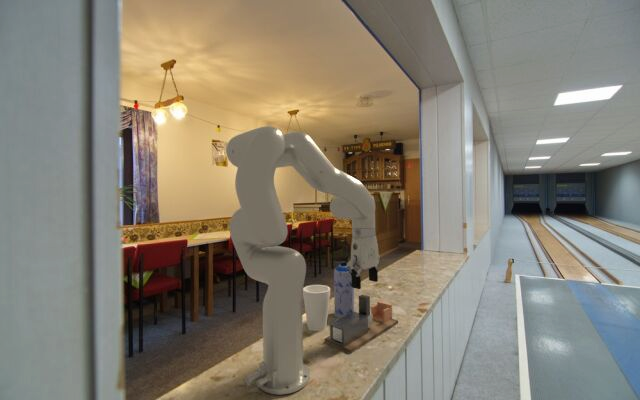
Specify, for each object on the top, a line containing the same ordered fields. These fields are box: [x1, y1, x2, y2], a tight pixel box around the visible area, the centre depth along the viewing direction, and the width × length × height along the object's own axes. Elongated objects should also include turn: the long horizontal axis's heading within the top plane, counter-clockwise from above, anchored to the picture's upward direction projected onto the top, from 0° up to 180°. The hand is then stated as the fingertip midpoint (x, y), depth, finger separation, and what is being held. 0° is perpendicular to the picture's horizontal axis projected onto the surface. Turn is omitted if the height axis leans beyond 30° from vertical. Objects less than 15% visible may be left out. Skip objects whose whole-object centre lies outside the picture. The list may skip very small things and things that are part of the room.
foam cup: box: [302, 284, 331, 332], centre depth 98 cm, size 10×9×13 cm
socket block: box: [370, 300, 393, 323], centre depth 102 cm, size 5×5×5 cm
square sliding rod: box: [333, 294, 373, 342], centre depth 90 cm, size 16×4×10 cm, turn 136°
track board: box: [323, 318, 399, 354], centre depth 94 cm, size 27×10×1 cm, turn 136°
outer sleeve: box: [329, 311, 368, 347], centre depth 88 cm, size 12×5×5 cm, turn 136°
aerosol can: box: [333, 260, 355, 319], centre depth 108 cm, size 8×8×20 cm
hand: (365, 284), depth 94 cm, fingers open, 9 cm apart
